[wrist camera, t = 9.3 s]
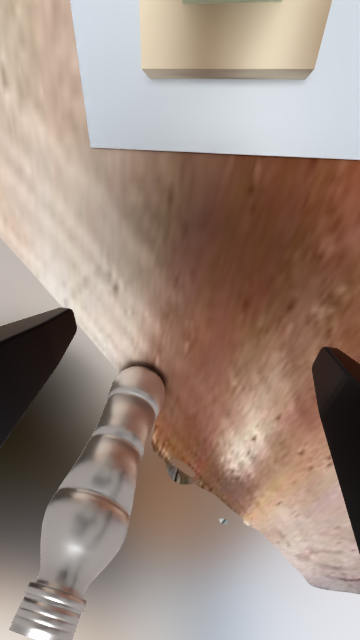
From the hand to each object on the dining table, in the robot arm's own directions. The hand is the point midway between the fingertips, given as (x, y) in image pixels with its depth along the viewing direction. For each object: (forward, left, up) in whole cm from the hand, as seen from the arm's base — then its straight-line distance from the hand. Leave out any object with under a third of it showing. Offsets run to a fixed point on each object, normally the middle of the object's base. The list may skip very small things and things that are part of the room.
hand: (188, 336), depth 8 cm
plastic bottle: (+7, +18, -13) cm, 23 cm away
